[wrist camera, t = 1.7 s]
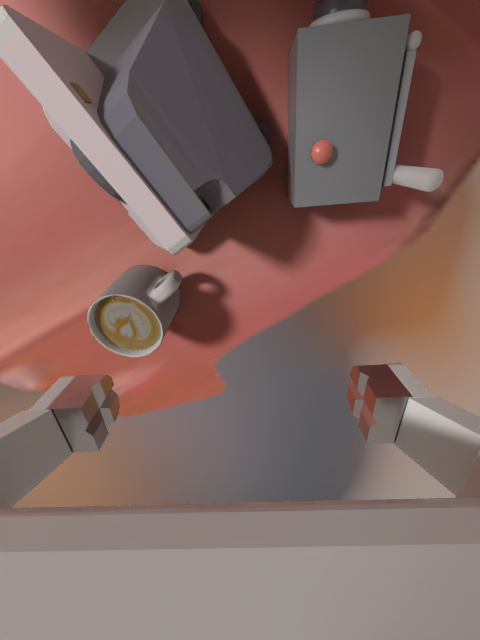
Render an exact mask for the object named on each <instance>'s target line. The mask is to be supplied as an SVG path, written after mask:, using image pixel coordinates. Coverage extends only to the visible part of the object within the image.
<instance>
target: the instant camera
mask: <svg viewBox="0 0 480 640" xmlns="http://www.w3.org/2000/svg"><path fill="white" fill-rule="evenodd" d="M191 6H192V7H193V9H194V11H195V13H194V12H193V10H192V8H191ZM202 22H203V14H202V9H201V7H200V5H199V3H198V1H197V0H126V1H125V2H124V4H123V5H122V6H121V7H120V9H119V10H118V11H117V13H116V14H115V15H114V16H113V18H112V19H111V20H110V22H109V23H108V24H107V25H106V27H105V28H104V29H103V31H102V32H101V33H100V34H99V36H98V37H97V38H96V40H95V41H94V42H93V43H92V45H91V46H90V47H89V49H88V50H87V51H86V52H85V51H83V50H81V49H80V48H78V47H76V46H75V45H73V44H71V43H70V42H68V41H66V40H64V39H63V38H61V37H59V36H58V35H56V34H54V33H53V32H51V31H49V30H48V29H46V28H44V27H43V26H41V25H39V24H38V23H36V22H34V21H32V20H31V19H29V18H27V17H26V16H24V15H22V14H21V13H19V12H17V11H16V10H14V9H12V8H11V7H9V6H7V5H2V6H1V8H0V57H1V58H2V60H3V61H4V62H5V63H6V64H7V65H8V67H9V68H10V69H11V70H12V71H13V72H14V73H15V75H16V76H17V77H18V78H19V79H20V80H21V82H22V83H23V84H24V85H25V86H26V87H27V89H28V90H29V91H30V92H31V93H32V94H33V96H34V97H35V98H36V99H37V100H38V101H39V102H40V104H41V105H42V106H43V110H44V112H45V114H46V116H47V118H48V120H49V122H50V124H51V126H52V128H53V129H54V130H55V131H56V132H57V133H58V135H59V136H60V137H61V138H62V139H63V140H64V141H65V142H66V144H67V145H68V146H69V147H70V148H71V149H72V151H73V152H74V154H75V156H76V157H77V159H78V161H79V163H80V164H81V165H82V166H83V168H84V169H85V170H86V171H87V173H88V174H89V175H90V176H91V177H92V178H93V179H94V180H95V181H96V182H97V183H98V184H99V185H100V186H101V187H102V188H103V189H104V190H105V191H107V192H108V193H109V194H110V195H112V196H113V197H114V198H116V199H117V200H118V202H120V203H121V204H123V206H124V207H125V208H126V209H127V210H128V211H129V212H128V214H129V216H130V217H131V218H132V219H133V220H134V221H135V222H136V223H137V225H138V226H139V227H140V228H141V229H142V230H143V231H144V233H145V234H146V235H147V236H148V237H149V238H150V239H151V241H152V242H153V243H154V244H156V245H157V246H159V247H161V248H162V249H164V250H167V251H168V252H170V253H171V254H172V255H176V254H178V253H179V252H180V251H182V250H183V249H184V248H185V247H187V246H188V245H189V244H191V243H192V242H193V241H194V240H195V239H196V237H197V236H198V234H199V233H200V231H201V230H202V228H203V227H204V225H205V224H206V222H207V221H209V220H210V219H211V218H212V217H214V215H215V213H216V212H218V211H219V210H220V209H221V208H223V207H224V206H225V205H226V204H228V203H229V202H230V201H231V200H233V199H234V198H235V197H236V196H238V195H239V194H240V193H242V192H243V191H244V190H245V189H247V188H248V187H249V186H250V185H252V184H253V183H254V182H255V181H257V180H258V179H259V178H260V177H262V176H263V175H264V174H265V173H266V171H267V170H268V169H269V168H270V166H271V165H272V164H273V160H272V154H271V148H270V146H269V145H268V143H267V142H268V141H269V137H270V134H269V130H268V128H267V126H266V125H265V123H264V122H262V121H257V122H255V120H254V118H253V116H252V115H251V113H250V111H249V109H248V107H247V106H246V104H245V102H244V100H243V99H242V97H241V95H240V93H239V91H238V90H237V88H236V86H235V84H234V83H233V81H232V79H231V77H230V75H229V74H228V72H227V70H226V68H225V67H224V65H223V63H222V61H221V59H220V58H219V56H218V54H217V52H216V51H215V49H214V47H213V45H212V43H211V42H210V40H209V38H208V36H207V35H206V33H205V31H204V29H203V28H202V26H201V24H202ZM260 129H261V130H262V132H263V134H264V136H263V134H262V132H261V131H260Z"/></svg>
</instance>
